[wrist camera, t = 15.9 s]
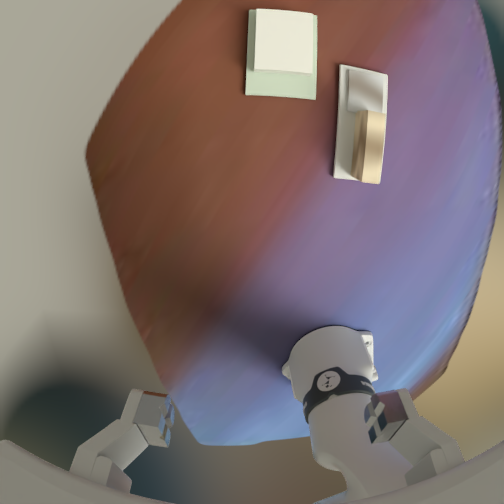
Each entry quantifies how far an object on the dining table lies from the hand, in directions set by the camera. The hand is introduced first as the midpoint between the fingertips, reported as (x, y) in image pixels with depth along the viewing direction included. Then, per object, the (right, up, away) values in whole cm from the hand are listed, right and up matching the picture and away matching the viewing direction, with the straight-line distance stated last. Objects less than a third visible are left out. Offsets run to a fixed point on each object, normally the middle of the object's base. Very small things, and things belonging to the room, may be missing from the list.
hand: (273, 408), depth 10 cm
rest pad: (+14, +23, +23) cm, 36 cm away
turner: (+14, +23, +23) cm, 35 cm away
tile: (+3, +28, +19) cm, 34 cm away
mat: (+3, +32, +19) cm, 37 cm away
